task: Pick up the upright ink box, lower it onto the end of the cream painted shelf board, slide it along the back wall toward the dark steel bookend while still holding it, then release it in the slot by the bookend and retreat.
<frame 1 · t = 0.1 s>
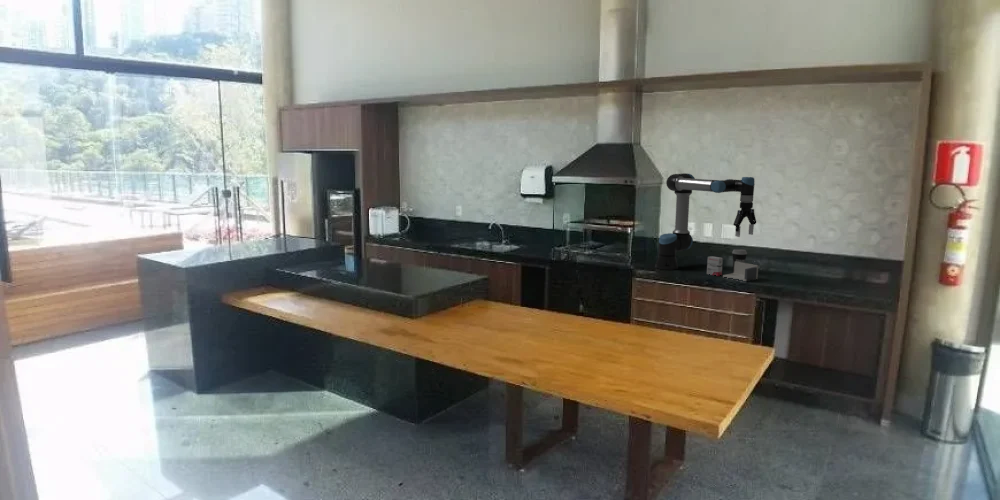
hand: (744, 235, 367), 28 cm above the kitchen counter, fingers open, 13 cm apart
coffee cup: (738, 272, 390), on the kitchen counter
shelf: (740, 278, 372), on the kitchen counter
ink box: (714, 275, 383), on the kitchen counter
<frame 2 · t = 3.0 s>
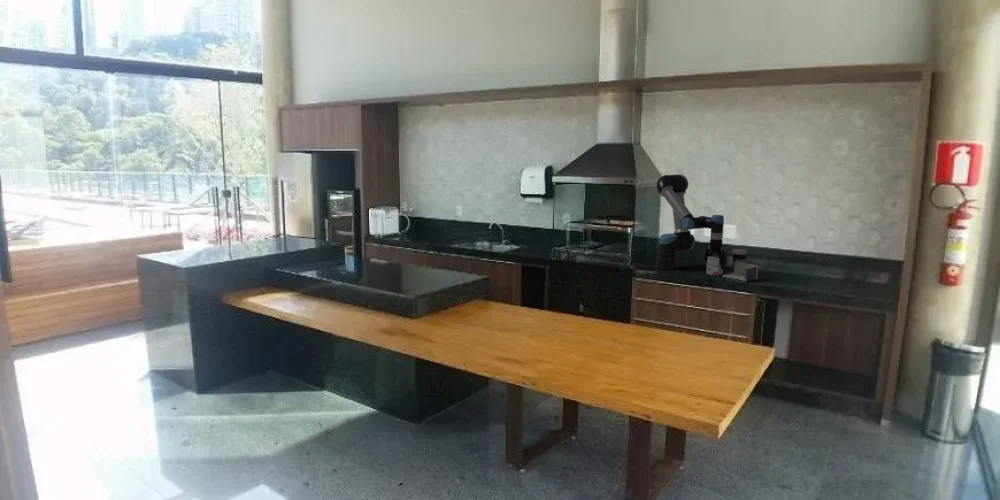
hand: (714, 272, 382), 1 cm above the kitchen counter, fingers closed on ink box, 9 cm apart
ink box: (714, 274, 383), on the kitchen counter, touching gripper
everything else where it was.
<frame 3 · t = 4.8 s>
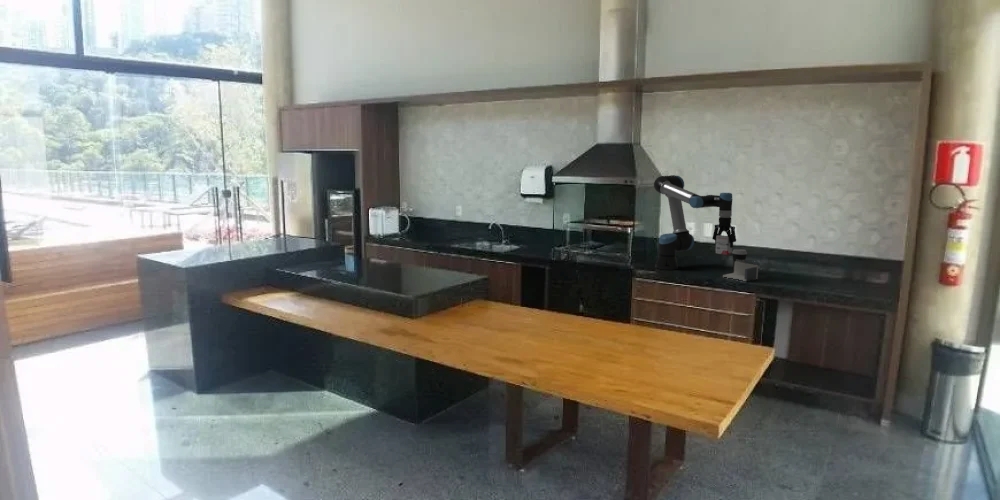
hand: (723, 251, 376), 16 cm above the kitchen counter, fingers closed on ink box, 9 cm apart
ink box: (723, 254, 377), point 14 cm above the kitchen counter, touching gripper
everything else where it was.
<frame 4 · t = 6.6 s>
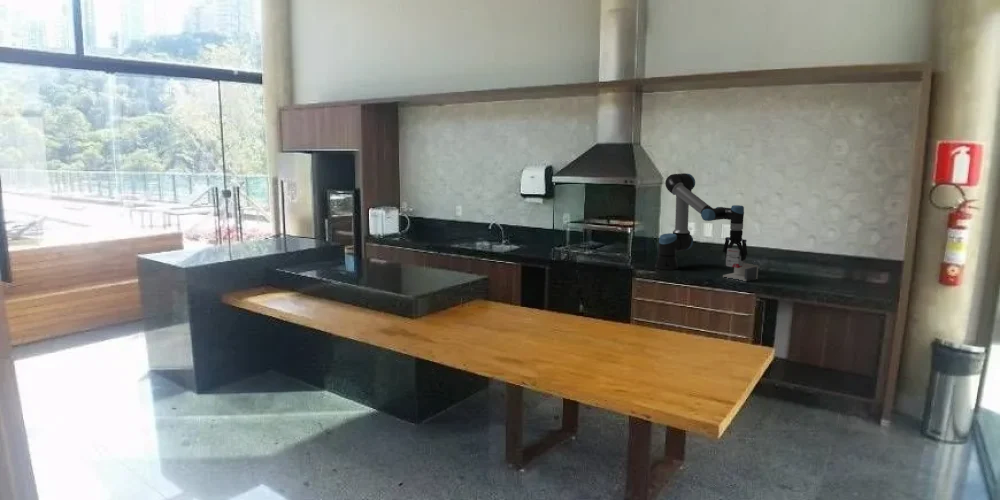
hand: (734, 264, 374), 8 cm above the kitchen counter, fingers closed on ink box, 9 cm apart
ink box: (734, 266, 374), point 7 cm above the kitchen counter, touching gripper
everything else where it was.
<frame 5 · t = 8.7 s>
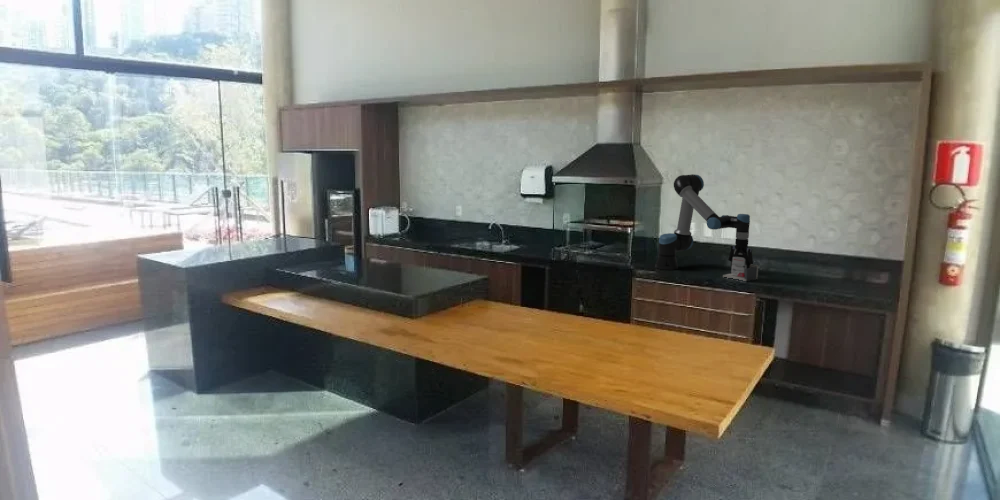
hand: (739, 273, 371), 3 cm above the kitchen counter, fingers closed on ink box, 9 cm apart
ink box: (739, 275, 371), point 2 cm above the kitchen counter, touching gripper
everything else where it was.
when the fingers open (4 cm above the kitchen counter, at t = 10.3 s): ink box stays where it is, resting on shelf.
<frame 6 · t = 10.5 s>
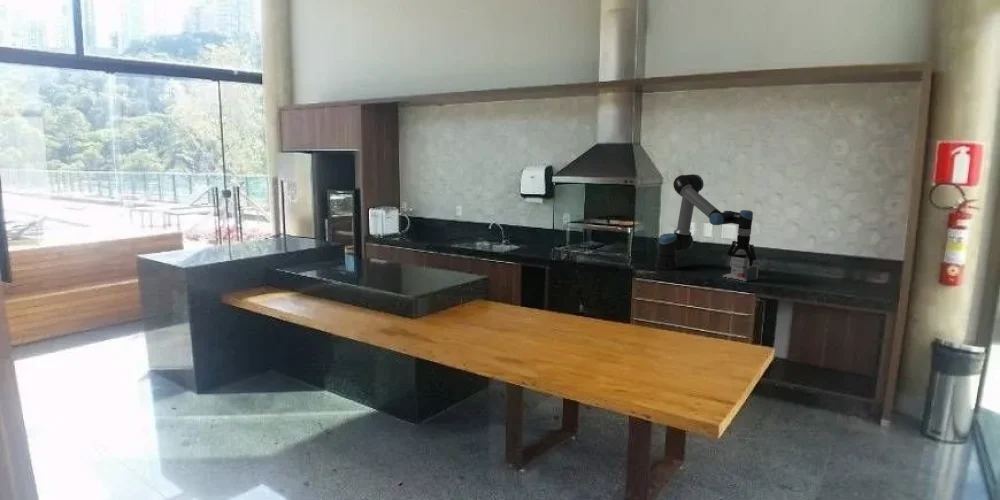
hand: (740, 268, 371), 7 cm above the kitchen counter, fingers open, 12 cm apart
ink box: (738, 276, 372), point 1 cm above the kitchen counter, touching shelf
everything else where it was.
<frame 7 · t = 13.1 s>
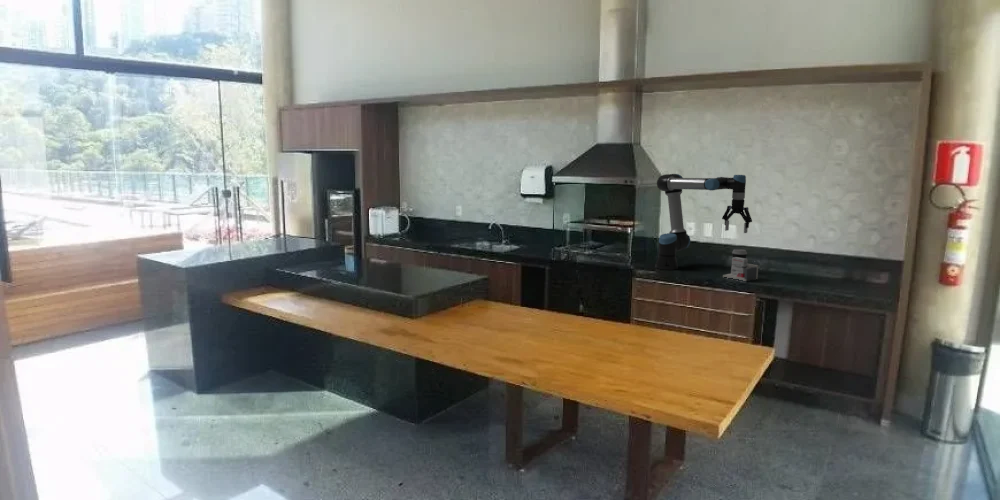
hand: (736, 231, 376), 29 cm above the kitchen counter, fingers open, 13 cm apart
nothing on the kitchen counter moved.
at the end: ink box inside the target area (3.4 cm from its centre), point 1.3 cm above the kitchen counter; ink box tilted 0°; the gripper is holding nothing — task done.
